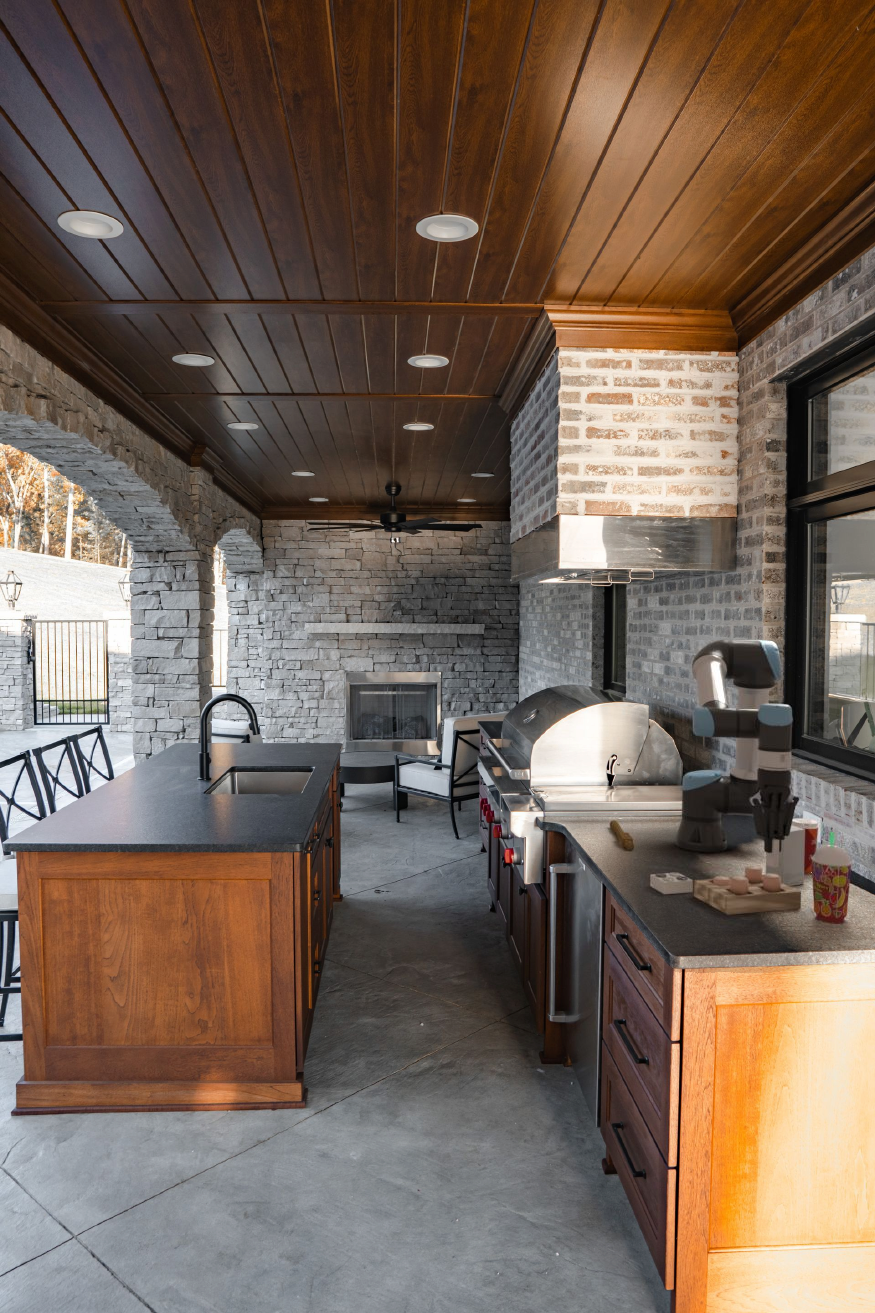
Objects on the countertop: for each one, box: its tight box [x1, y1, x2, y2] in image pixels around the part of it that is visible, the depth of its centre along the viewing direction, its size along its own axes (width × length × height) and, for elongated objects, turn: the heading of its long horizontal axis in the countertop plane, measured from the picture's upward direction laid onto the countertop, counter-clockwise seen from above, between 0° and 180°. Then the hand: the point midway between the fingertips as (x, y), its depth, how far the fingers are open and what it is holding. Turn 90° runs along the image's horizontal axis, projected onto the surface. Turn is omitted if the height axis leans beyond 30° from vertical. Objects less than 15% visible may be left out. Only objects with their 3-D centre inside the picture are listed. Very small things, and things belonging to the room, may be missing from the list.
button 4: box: [762, 873, 781, 893], centre depth 197 cm, size 4×4×4 cm
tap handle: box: [609, 820, 635, 851], centre depth 262 cm, size 3×3×30 cm
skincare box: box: [765, 825, 805, 887], centre depth 215 cm, size 8×6×15 cm
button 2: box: [730, 875, 749, 895], centre depth 195 cm, size 4×4×4 cm
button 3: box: [744, 865, 763, 884], centre depth 204 cm, size 4×4×4 cm
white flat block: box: [649, 871, 694, 895], centre depth 209 cm, size 7×8×3 cm
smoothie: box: [811, 832, 853, 924], centre depth 188 cm, size 8×8×20 cm
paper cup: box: [792, 817, 820, 874], centre depth 227 cm, size 8×8×14 cm
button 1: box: [712, 875, 731, 886], centre depth 202 cm, size 4×4×4 cm
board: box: [693, 874, 802, 916], centre depth 199 cm, size 14×20×4 cm
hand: (772, 865), depth 197 cm, fingers closed
